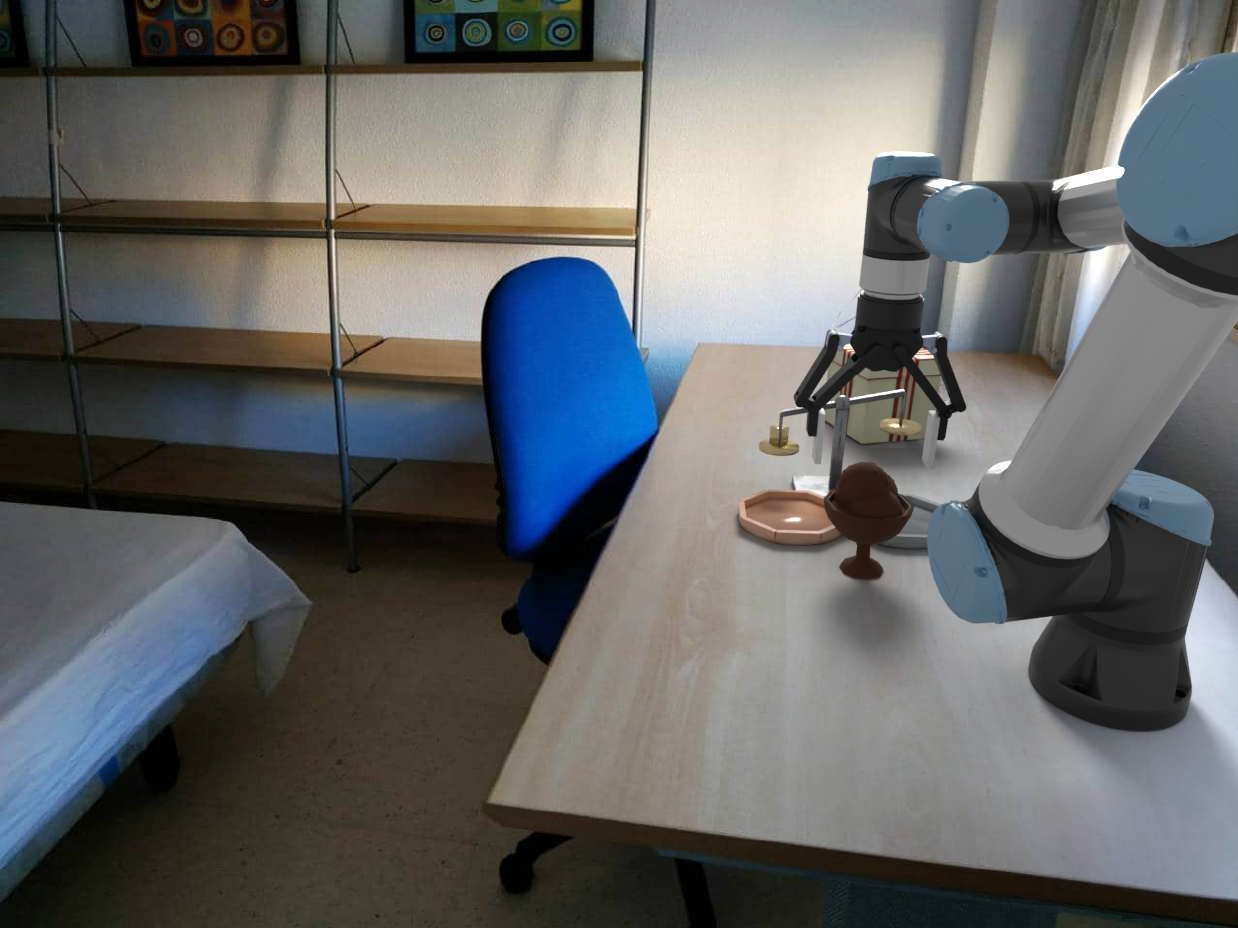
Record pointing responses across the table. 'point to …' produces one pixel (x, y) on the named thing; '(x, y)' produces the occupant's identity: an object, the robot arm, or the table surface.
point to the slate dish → (914, 525)
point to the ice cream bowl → (866, 514)
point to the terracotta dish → (787, 517)
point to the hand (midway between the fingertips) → (871, 462)
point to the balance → (825, 484)
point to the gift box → (869, 415)
